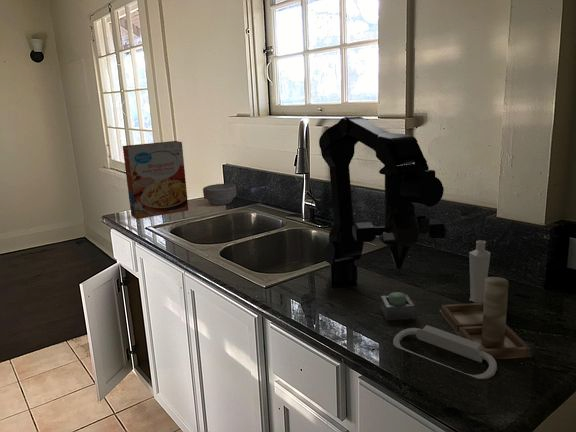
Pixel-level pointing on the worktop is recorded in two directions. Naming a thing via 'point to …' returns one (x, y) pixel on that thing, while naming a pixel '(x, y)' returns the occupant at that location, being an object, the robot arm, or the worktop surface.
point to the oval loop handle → (450, 346)
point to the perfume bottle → (478, 271)
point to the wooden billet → (494, 312)
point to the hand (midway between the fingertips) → (398, 268)
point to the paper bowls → (219, 193)
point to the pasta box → (155, 178)
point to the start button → (397, 298)
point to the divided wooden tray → (470, 327)
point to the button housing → (397, 309)
